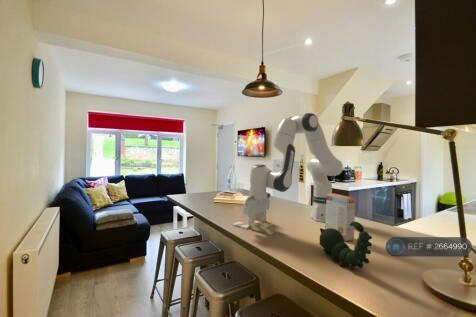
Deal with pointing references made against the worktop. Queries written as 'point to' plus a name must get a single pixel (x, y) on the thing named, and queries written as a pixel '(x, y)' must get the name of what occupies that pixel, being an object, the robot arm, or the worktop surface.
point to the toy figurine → (346, 246)
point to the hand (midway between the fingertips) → (256, 221)
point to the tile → (256, 217)
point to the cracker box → (340, 214)
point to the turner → (257, 226)
